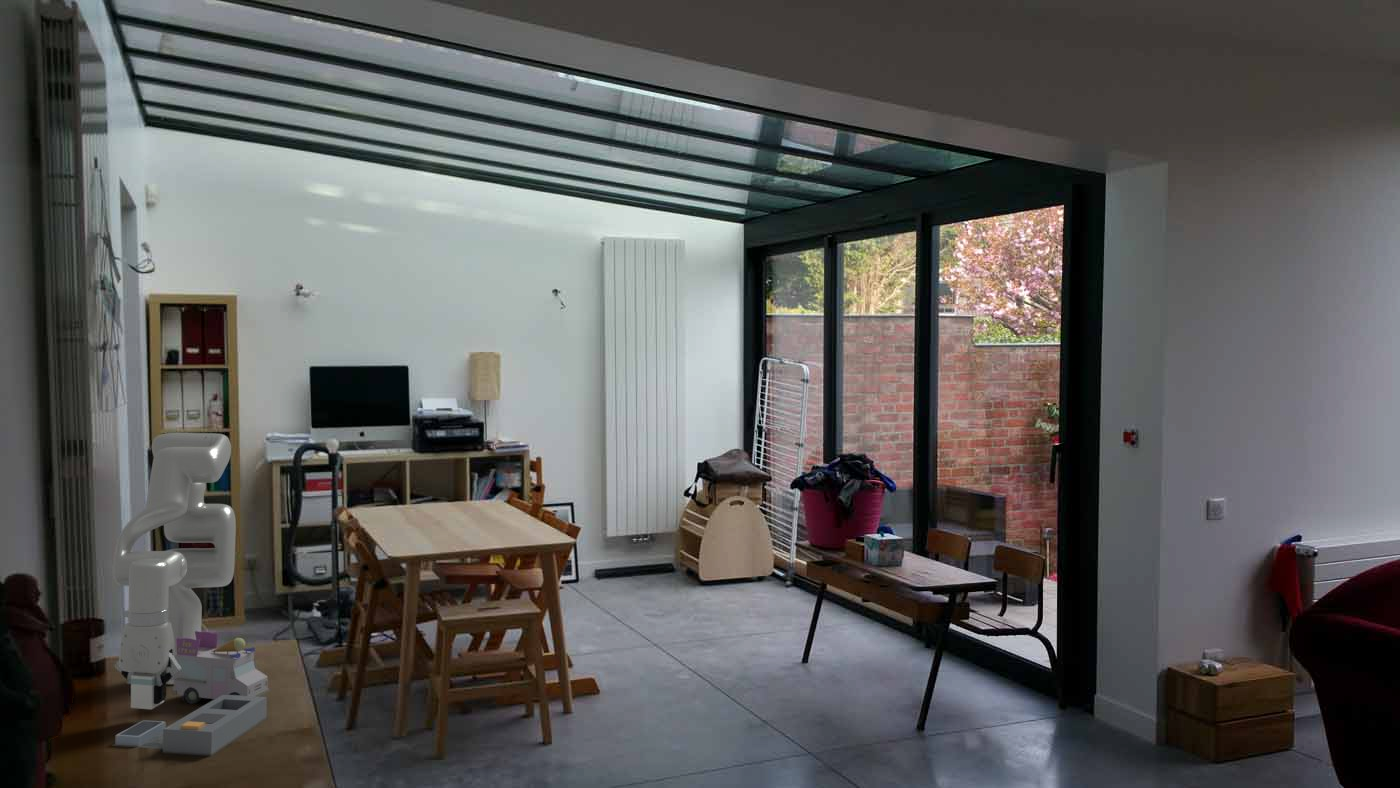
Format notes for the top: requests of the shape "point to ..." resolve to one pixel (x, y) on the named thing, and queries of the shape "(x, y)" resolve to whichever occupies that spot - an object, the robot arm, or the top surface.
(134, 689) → the charger
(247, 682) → the toy vehicle
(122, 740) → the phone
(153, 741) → the mat
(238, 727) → the grey compartment tray
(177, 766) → the top surface
